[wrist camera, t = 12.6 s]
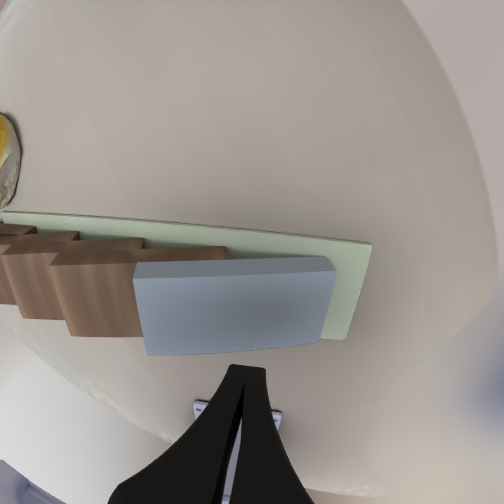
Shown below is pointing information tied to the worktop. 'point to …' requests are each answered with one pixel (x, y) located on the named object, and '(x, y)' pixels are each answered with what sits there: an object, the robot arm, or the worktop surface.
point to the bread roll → (8, 160)
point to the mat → (228, 250)
